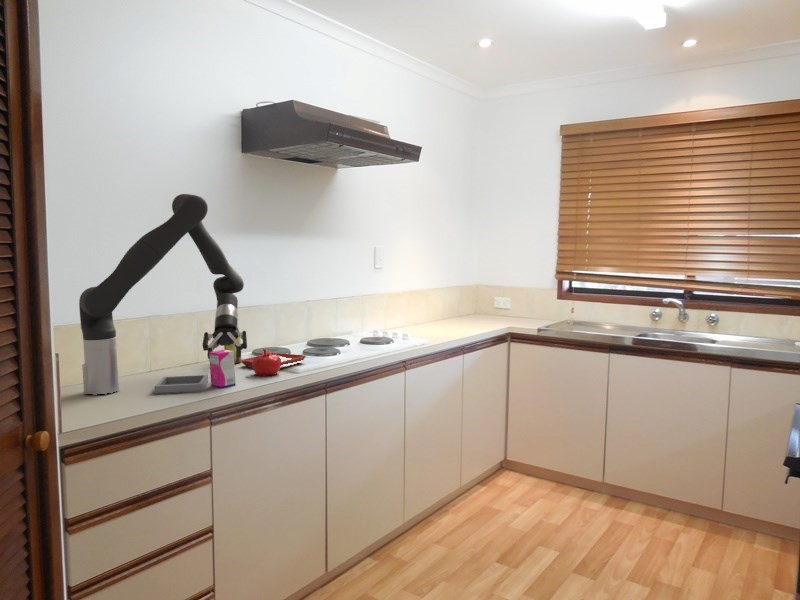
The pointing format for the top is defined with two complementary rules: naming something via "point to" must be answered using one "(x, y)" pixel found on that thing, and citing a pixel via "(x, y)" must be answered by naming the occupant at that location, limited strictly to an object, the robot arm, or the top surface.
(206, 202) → the robot arm
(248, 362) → the red square tray
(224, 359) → the supplement box
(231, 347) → the sauce bottle
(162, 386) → the tray
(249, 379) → the top surface
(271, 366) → the pomegranate
